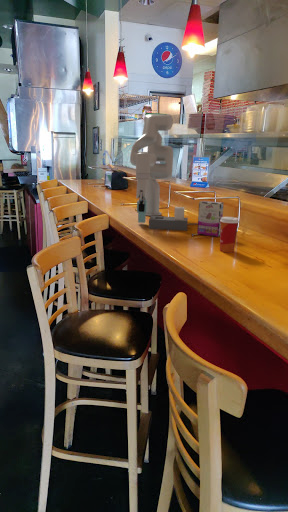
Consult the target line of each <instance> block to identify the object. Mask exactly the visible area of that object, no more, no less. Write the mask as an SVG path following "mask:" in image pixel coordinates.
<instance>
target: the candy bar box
mask: <svg viewBox="0 0 288 512" xmlns="http://www.w3.org/2000/svg"><path fill="white" fill-rule="evenodd" d="M222 217H224V202H222V201H220V202H219V201H211V200H210V201H207V200H201V201H199V202H198V217H197V235H199V234H203V235H202V236H209V237H217V238H220V228H221V221H220V220H221V218H222Z"/></svg>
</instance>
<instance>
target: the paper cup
mask: <svg viewBox="0 0 288 512" xmlns="http://www.w3.org/2000/svg"><path fill="white" fill-rule="evenodd" d="M220 221H221V228H220V236H219V238H220V239H219V241H220V242H219V251H220V252H221V253H224V254H225V253H226V254H230V253H234V251H235V245H236V240H237V239H236V238H237V233H238V232H237V231H238V225H239V223H240V222H239V221H240V220H239V218H238V217H234V216H223V217H222V218H221V220H220Z"/></svg>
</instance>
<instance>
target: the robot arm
mask: <svg viewBox="0 0 288 512" xmlns="http://www.w3.org/2000/svg"><path fill="white" fill-rule="evenodd" d="M173 122H174V119H173V116H172V115H171V114H168V113H167V114H166V113H165V114H160V113H159V114H157V113H156V114H155V113H153V114H150V113H149V114H146V115H145V116H144V118H143V130H142V135H141V136H140V137H139V138H138V139H136V141H135V142H134V143H133V145H132V147H131V150H130V156H129V162H130V164H131V165H132V166H135V180H137V181H136V182H137V183H136V193H135V195H136V197H135V198H136V199H138V200H139V207H138V211H139V212H144V208H145V204H144V201H147V212H146V216H148V217H151V216H162V212H161V211H160V200H161V199H160V194H161V185H160V184H159V183H158V180H164V181H165V180H167V181H168V180H171V178H172V177H173V176H172V175H173V164H174V163H173V162H174V150H173V147H172V146H170V145H163V144H162V143H163V137H162V134H161V133H160V132H161V131H162V132H165V131H166V132H167V131H170V130H171V129H172V128H173V124H174V123H173ZM159 131H160V132H159ZM144 148H147V151H140V150H142V149H144ZM159 162H160V163H159ZM162 162H164V163H162Z"/></svg>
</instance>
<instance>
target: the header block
mask: <svg viewBox="0 0 288 512" xmlns="http://www.w3.org/2000/svg"><path fill="white" fill-rule="evenodd" d="M173 215H174V216H162V215H158V216H149V218H148V229H149V230H164V229H166V231H167V230H168V231H169V230H171V231H188V220H189V218H188V217H185V207H184V206H174V214H173Z"/></svg>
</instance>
